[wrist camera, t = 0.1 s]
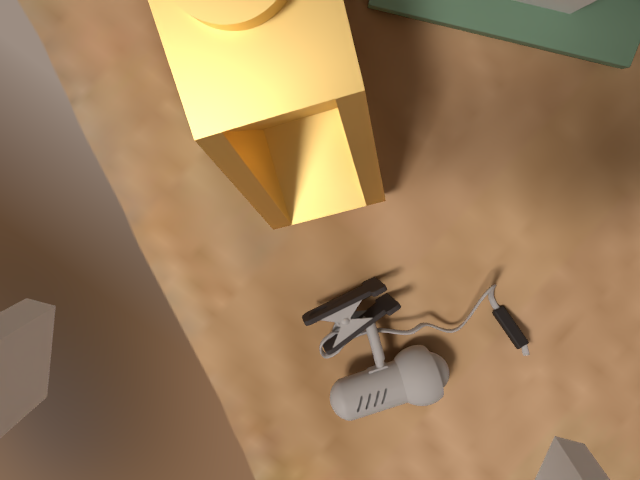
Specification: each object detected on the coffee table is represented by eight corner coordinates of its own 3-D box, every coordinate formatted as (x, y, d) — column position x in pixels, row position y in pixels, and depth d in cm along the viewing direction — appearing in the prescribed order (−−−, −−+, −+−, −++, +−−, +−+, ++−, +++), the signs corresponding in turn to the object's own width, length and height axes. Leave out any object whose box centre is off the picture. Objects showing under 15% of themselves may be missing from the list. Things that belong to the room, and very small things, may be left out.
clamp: (206, -22, 35) (88, -140, 19) (320, -62, 33) (291, -221, 18) (280, 220, 39) (231, 283, 24) (382, 194, 38) (402, 242, 22)
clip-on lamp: (482, 241, 41) (296, 298, 40) (520, 249, 35) (302, 318, 34) (510, 357, 43) (332, 417, 41) (552, 385, 37) (343, 456, 35)
